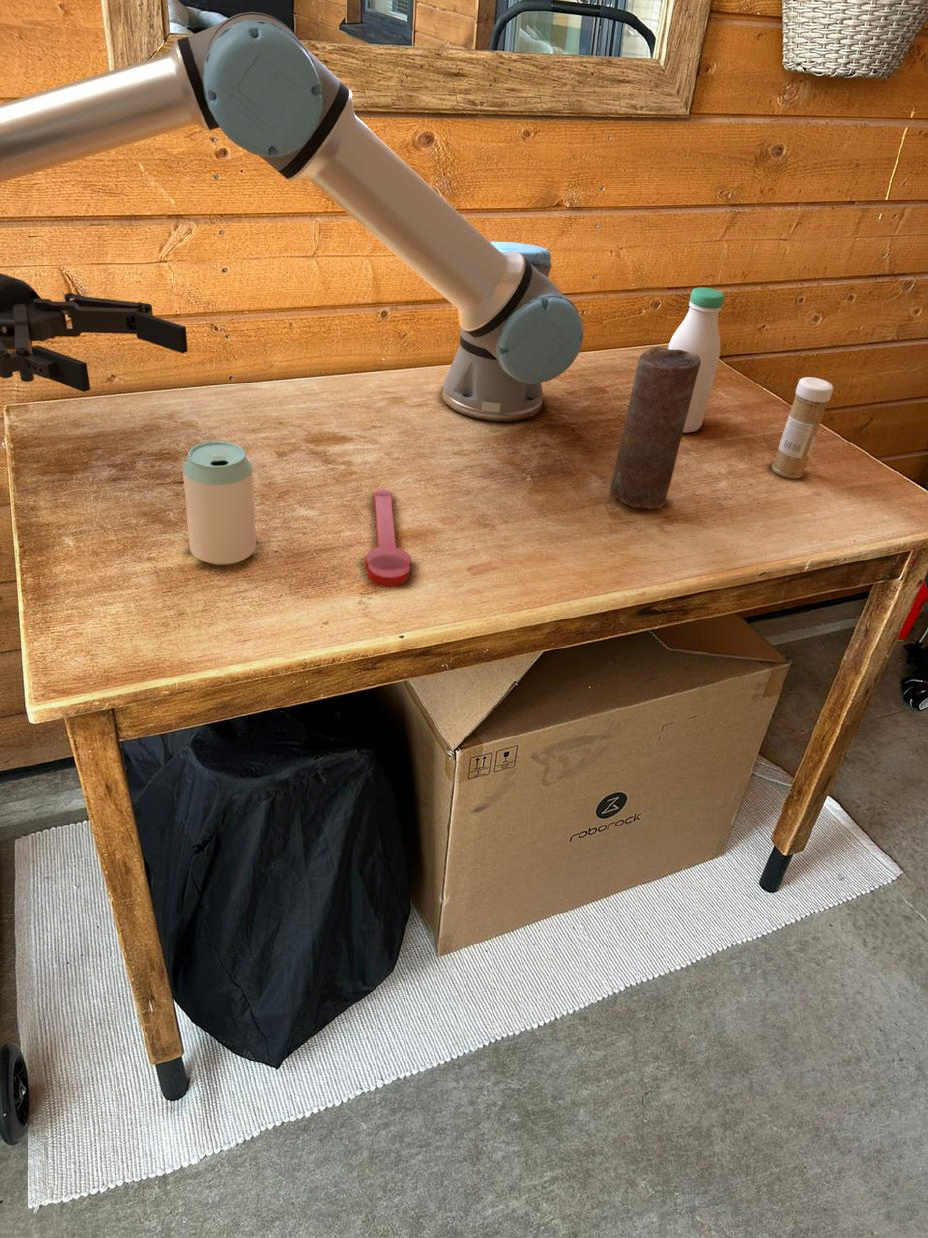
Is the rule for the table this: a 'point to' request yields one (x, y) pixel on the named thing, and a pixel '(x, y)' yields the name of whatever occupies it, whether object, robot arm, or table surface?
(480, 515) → the table surface
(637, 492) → the candle
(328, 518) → the table surface
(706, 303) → the milk bottle
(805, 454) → the spice jar
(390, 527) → the spoon
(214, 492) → the can
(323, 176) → the robot arm
